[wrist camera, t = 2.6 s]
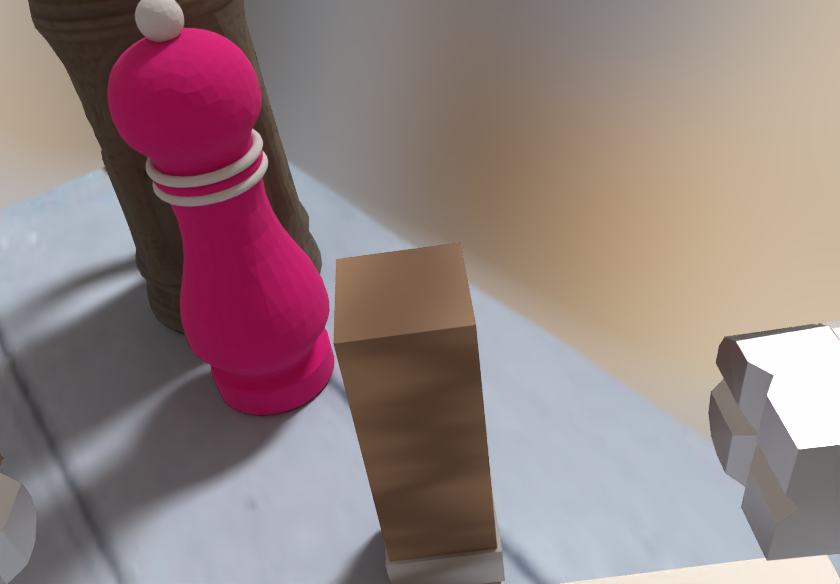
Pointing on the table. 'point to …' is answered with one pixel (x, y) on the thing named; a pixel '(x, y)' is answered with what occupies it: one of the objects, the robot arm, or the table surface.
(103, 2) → the beer stein
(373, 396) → the rail
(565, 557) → the table surface
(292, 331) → the pepper mill
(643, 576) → the socket block
